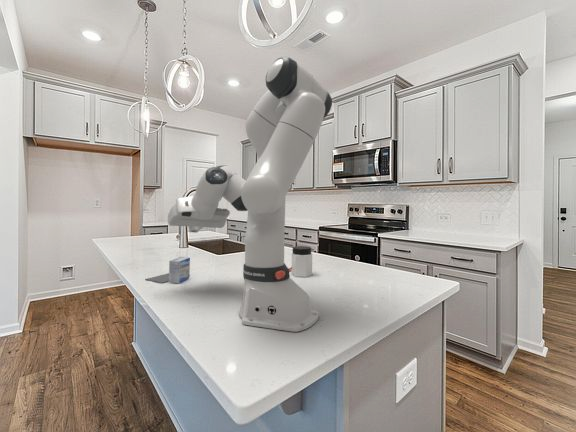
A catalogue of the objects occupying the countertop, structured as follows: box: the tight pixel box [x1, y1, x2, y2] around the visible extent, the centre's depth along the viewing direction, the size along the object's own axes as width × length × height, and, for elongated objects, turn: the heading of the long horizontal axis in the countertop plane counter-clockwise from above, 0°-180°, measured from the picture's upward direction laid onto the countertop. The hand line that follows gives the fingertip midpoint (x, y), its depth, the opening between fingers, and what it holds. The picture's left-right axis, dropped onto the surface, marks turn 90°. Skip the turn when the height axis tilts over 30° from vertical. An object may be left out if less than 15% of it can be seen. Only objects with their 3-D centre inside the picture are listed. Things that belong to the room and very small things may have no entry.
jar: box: [291, 245, 313, 278], centre depth 129 cm, size 9×8×12 cm
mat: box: [145, 272, 191, 284], centre depth 122 cm, size 10×14×1 cm
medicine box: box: [168, 256, 191, 284], centre depth 118 cm, size 8×4×9 cm, turn 169°
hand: (193, 231), depth 112 cm, fingers closed
